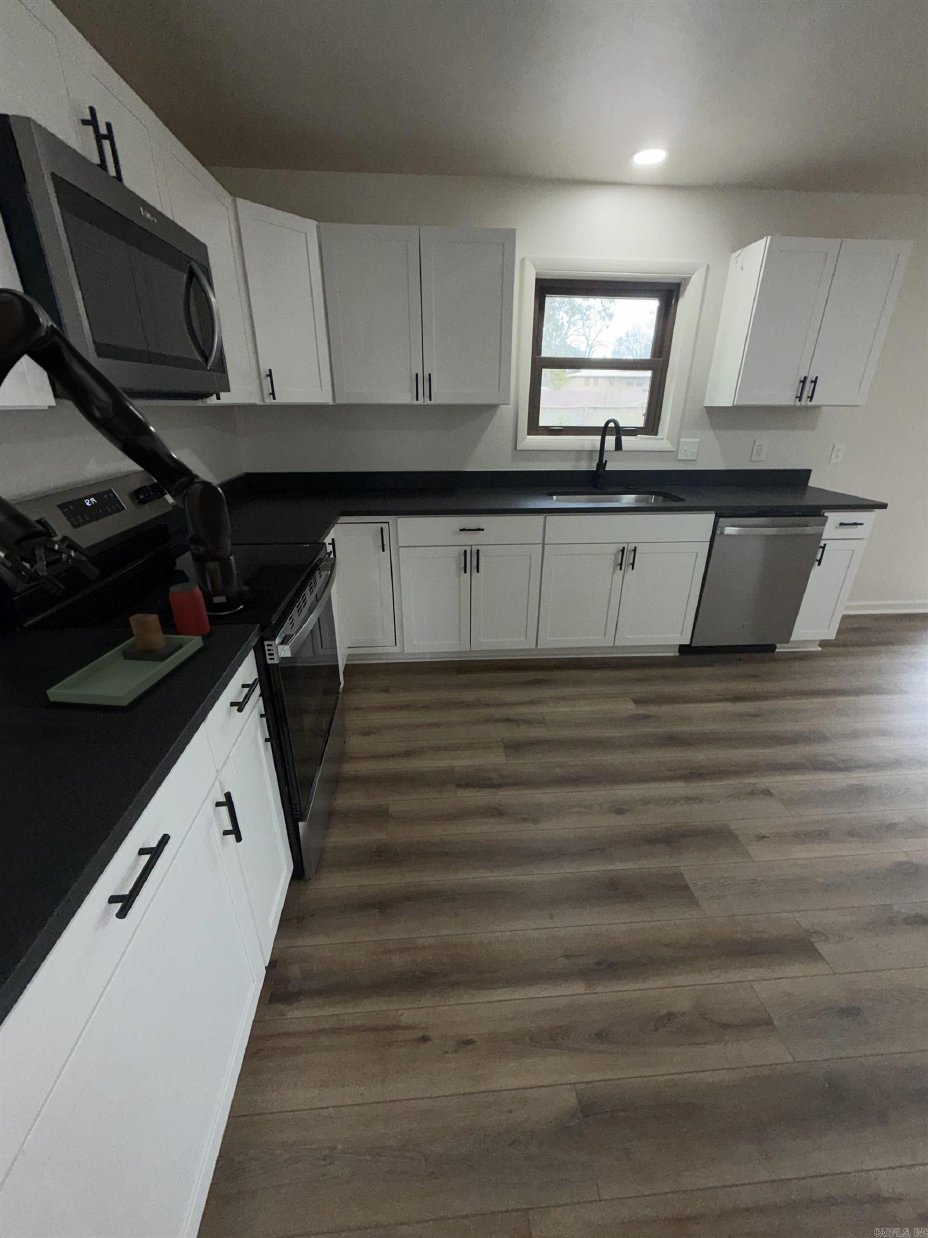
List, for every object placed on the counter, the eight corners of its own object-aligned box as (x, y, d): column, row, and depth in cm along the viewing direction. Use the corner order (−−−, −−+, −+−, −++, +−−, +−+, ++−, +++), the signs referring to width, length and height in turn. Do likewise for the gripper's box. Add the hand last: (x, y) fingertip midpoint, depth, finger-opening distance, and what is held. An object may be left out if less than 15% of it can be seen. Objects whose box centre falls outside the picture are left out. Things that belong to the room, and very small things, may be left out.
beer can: (198, 642, 112) (186, 593, 107) (173, 640, 113) (159, 591, 108) (217, 630, 117) (206, 582, 113) (192, 627, 119) (181, 580, 114)
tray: (142, 645, 111) (139, 633, 109) (204, 648, 109) (201, 636, 108) (51, 705, 89) (45, 691, 88) (126, 710, 88) (121, 696, 87)
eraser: (124, 659, 102) (111, 620, 99) (140, 648, 107) (129, 610, 103) (169, 662, 101) (157, 622, 98) (184, 651, 106) (174, 612, 102)
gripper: (-23, 521, 87) (58, 584, 91) (47, 505, 100) (115, 561, 104) (-38, 549, 90) (42, 610, 94) (32, 530, 103) (100, 584, 107)
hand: (80, 584), depth 99 cm, fingers open, 8 cm apart
